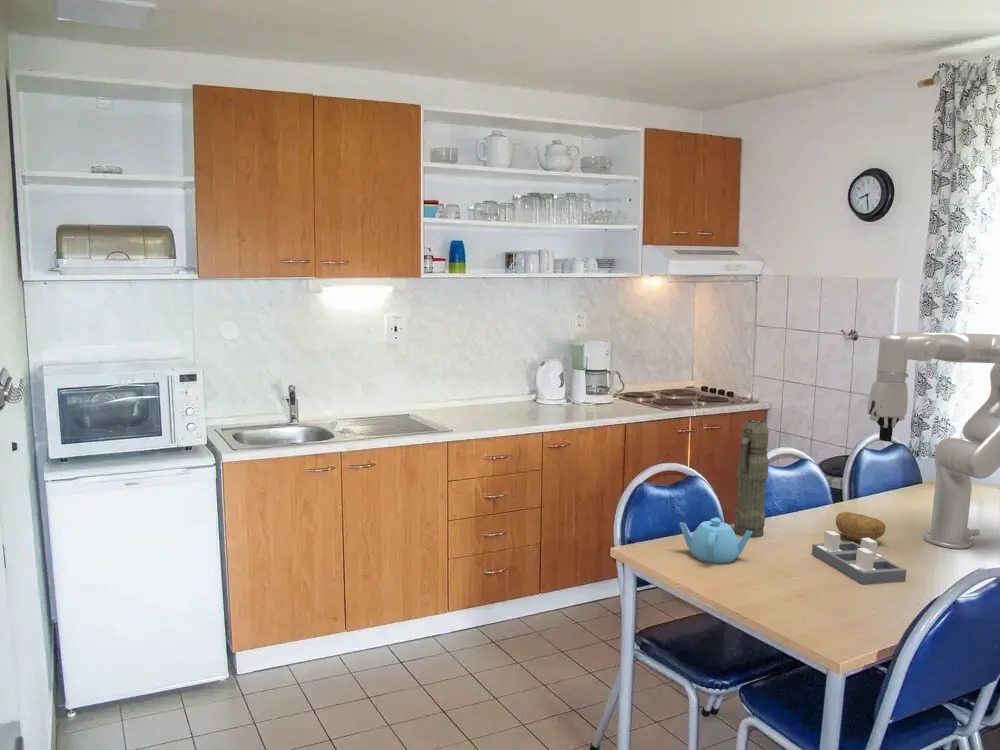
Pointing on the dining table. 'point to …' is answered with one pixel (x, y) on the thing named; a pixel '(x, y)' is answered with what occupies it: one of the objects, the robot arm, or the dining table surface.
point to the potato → (859, 526)
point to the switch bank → (845, 562)
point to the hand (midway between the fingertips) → (885, 440)
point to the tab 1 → (831, 541)
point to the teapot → (714, 541)
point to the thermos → (752, 479)
